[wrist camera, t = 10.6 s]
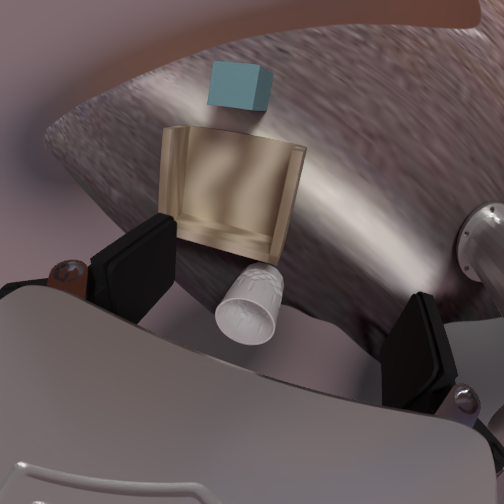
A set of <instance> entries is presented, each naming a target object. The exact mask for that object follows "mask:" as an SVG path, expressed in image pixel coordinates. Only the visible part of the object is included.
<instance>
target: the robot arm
mask: <svg viewBox="0 0 504 504" xmlns="http://www.w3.org/2000/svg"><path fill="white" fill-rule="evenodd" d="M176 240H177V222H176V221H174V217H173V216H170V215H167V214H163V213H158V214H156V215H154V216H153V217H151V218H150V219H148V220H147V221H145V222H143V223H142V224H140V225H139V226H137V227H136V228H134V229H133V230H131V231H130V232H128V233H127V234H125V235H124V236H122V237H121V238H119V239H118V240H116V241H115V242H113V243H112V244H110V245H109V246H107V247H106V248H104V249H103V250H101V251H100V252H99V253H97V254H96V255H95V256H93V257H92V258H90V260H91V265H90V266H88V267H87V265H86V264H85V263H84V262H82V261H79V260H66V261H63V262H60V263H58V264H57V265H55V266H54V267H53V268H52V269H51V272H50V274H49V278H45V279H37V280H28V281H21V282H13V283H8V284H6V285H4V286H3V287H2V288H1V289H0V504H504V404H503V405H502V406H501V407H500V408H499V409H498V410H497V411H496V413H495V414H494V415H493V416H492V418H491V419H490V421H489V423H488V425H487V427H486V426H485V425H484V424H483V423H482V422H481V421H480V420H479V419H478V416H479V413H480V410H481V402H480V399H479V396H478V395H477V393H476V392H475V390H474V389H473V388H471V387H470V386H469V385H466V384H464V383H458V384H456V383H455V378H456V377H457V376H458V373H457V369H456V366H455V362H454V358H453V355H452V351H451V348H450V344H449V341H448V338H447V335H446V332H445V329H444V325H443V322H442V320H441V317H440V314H439V311H438V308H437V306H436V303H435V300H434V297H433V296H432V295H430V294H427V293H423V292H418V293H417V294H413V295H412V296H411V298H410V300H409V301H408V303H407V305H406V307H405V308H404V310H403V312H402V314H401V315H400V317H399V319H398V320H397V322H396V324H395V325H394V327H393V329H392V330H391V332H390V333H389V335H388V336H387V338H386V340H385V341H384V343H383V345H382V347H381V370H382V405H377V404H372V403H367V402H363V401H358V400H353V399H349V398H345V397H340V396H336V395H332V394H328V393H324V392H320V391H317V390H313V389H309V388H306V387H302V386H298V385H295V384H291V383H288V382H285V381H281V380H278V379H275V378H271V377H269V376H265V375H262V374H259V373H256V372H253V371H250V370H247V369H244V368H242V367H239V366H236V365H233V364H230V363H227V362H225V361H222V360H219V359H217V358H214V357H211V356H208V355H206V354H204V353H201V352H198V351H196V350H194V349H191V348H189V347H186V346H184V345H181V344H179V343H176V342H174V341H172V340H169V339H167V338H165V337H163V336H160V335H158V334H156V333H153V332H151V331H149V330H147V329H145V328H142V327H141V326H138V325H137V324H138V323H139V322H140V320H141V319H142V318H143V317H144V316H145V315H146V314H147V313H148V311H149V310H150V309H151V308H152V307H153V306H154V305H155V304H156V303H157V302H158V300H159V299H160V298H161V297H162V296H163V295H164V294H165V293H166V292H167V291H168V290H169V288H170V287H171V286H172V285H173V283H174V280H175V264H176ZM456 255H457V260H458V263H459V266H460V268H461V269H462V271H463V273H464V274H465V275H466V276H467V277H468V278H470V279H471V280H474V281H476V282H482V283H483V285H484V286H485V288H486V290H487V291H488V293H489V294H490V296H491V298H492V299H493V301H494V302H495V304H496V306H497V308H498V309H499V311H500V313H501V314H502V316H503V318H504V204H503V203H500V202H489V203H485V204H483V205H481V206H479V207H478V208H477V209H475V210H474V211H473V212H472V213H471V214H470V215H469V216H468V217H467V219H466V221H465V222H464V224H463V226H462V228H461V230H460V232H459V236H458V239H457V246H456Z"/></svg>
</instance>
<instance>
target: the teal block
mask: <svg viewBox="0 0 504 504" xmlns="http://www.w3.org/2000/svg"><path fill="white" fill-rule="evenodd" d="M272 79H273V73H271V72H270V71H268V70H267V69H265V68H264V67H262V66H261V65H255V64H245V63H234V62H219V61H214V64H213V70H212V76H211V82H210V89H209V95H208V102H207V105H216V106H225V107H233V108H240V109H246V110H255V111H267V107H268V101H269V96H270V90H271V85H272Z"/></svg>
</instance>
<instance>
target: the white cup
mask: <svg viewBox="0 0 504 504" xmlns="http://www.w3.org/2000/svg"><path fill="white" fill-rule="evenodd" d="M283 288H284V282H283V277H282V275H281V274H280V272H279V271H278V270H277V269H276V268H274V267H273V266H271V265H269V264H266V263H259V262H258V263H254V264H250V265H249V266H247V267H246V268H245V269H244V270H243V271H242V273H241V275H240V276H239V277H238V278H237V279H236V281H235V282H234V284H233V285H232V286H231V288H230V289H229V291H228V292H227V294H226V295H225V297H224V298H223V300H222V301H221V303H220V304H219V306H218V307H217V309H216V312H215V319H216V323H217V325H218V326H219V328H220V330H221V331H222V332H223V333H224V334H225V335H226V336H228V337H229V338H230V339H232V340H234V341H236V342H238V343H242V344H246V345H258V344H262V343H265V342H266V341H268V340H269V339H270V338H271V337H272V335H273V334H274V332H275V327H276V323H277V319H278V315H279V310H280V305H281V300H282V292H283Z"/></svg>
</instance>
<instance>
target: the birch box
mask: <svg viewBox="0 0 504 504" xmlns="http://www.w3.org/2000/svg"><path fill="white" fill-rule="evenodd" d="M306 150H307V147H305V146H300V145H296V144H292V143H287V142H283V141H278V140H274V139H269V138H264V137H259V136H254V135H248V134H243V133H237V132H231V131H225V130H218V129H211V128H204V127H196V126H188V125H181V126H175V127H169V128H163V138H162V151H161V165H160V183H159V211H158V213H163V214H167V215H170V216H173V217H174V221H176V222H177V237H178V238H182V239H185V240H189V241H192V242H196V243H199V244H203V245H206V246H210V247H213V248H217V249H220V250H224V251H227V252H231V253H234V254H238V255H241V256H245V257H248V258H252V259H255V260H259V261H263V262H266V263H270V264H273V265H277V264H278V261H279V258H280V256H281V253H282V250H283V248H284V244H285V240H286V236H287V232H288V228H289V224H290V220H291V215H292V211H293V207H294V203H295V198H296V194H297V190H298V185H299V181H300V177H301V172H302V168H303V163H304V159H305V154H306Z"/></svg>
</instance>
